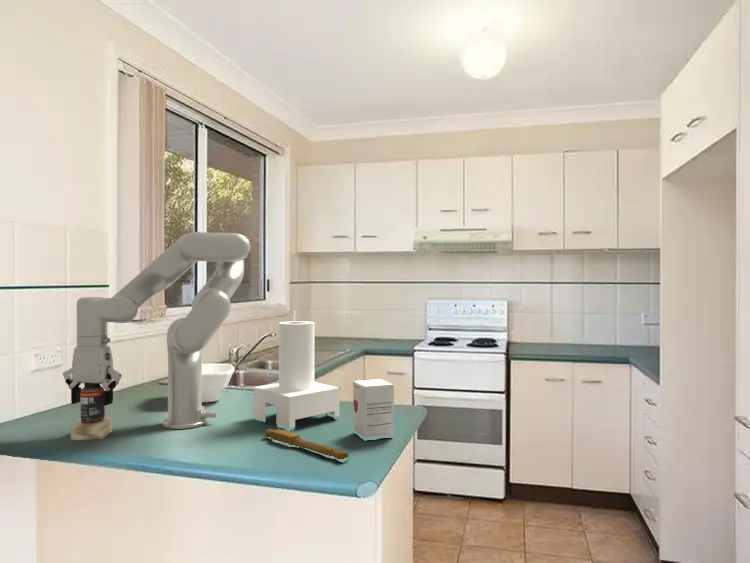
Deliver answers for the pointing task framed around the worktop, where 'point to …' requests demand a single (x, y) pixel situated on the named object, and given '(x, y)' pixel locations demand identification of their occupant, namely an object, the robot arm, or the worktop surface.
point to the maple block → (91, 429)
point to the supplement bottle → (92, 403)
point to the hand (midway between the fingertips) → (92, 403)
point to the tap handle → (304, 443)
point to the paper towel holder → (296, 379)
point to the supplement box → (373, 407)
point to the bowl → (215, 380)
